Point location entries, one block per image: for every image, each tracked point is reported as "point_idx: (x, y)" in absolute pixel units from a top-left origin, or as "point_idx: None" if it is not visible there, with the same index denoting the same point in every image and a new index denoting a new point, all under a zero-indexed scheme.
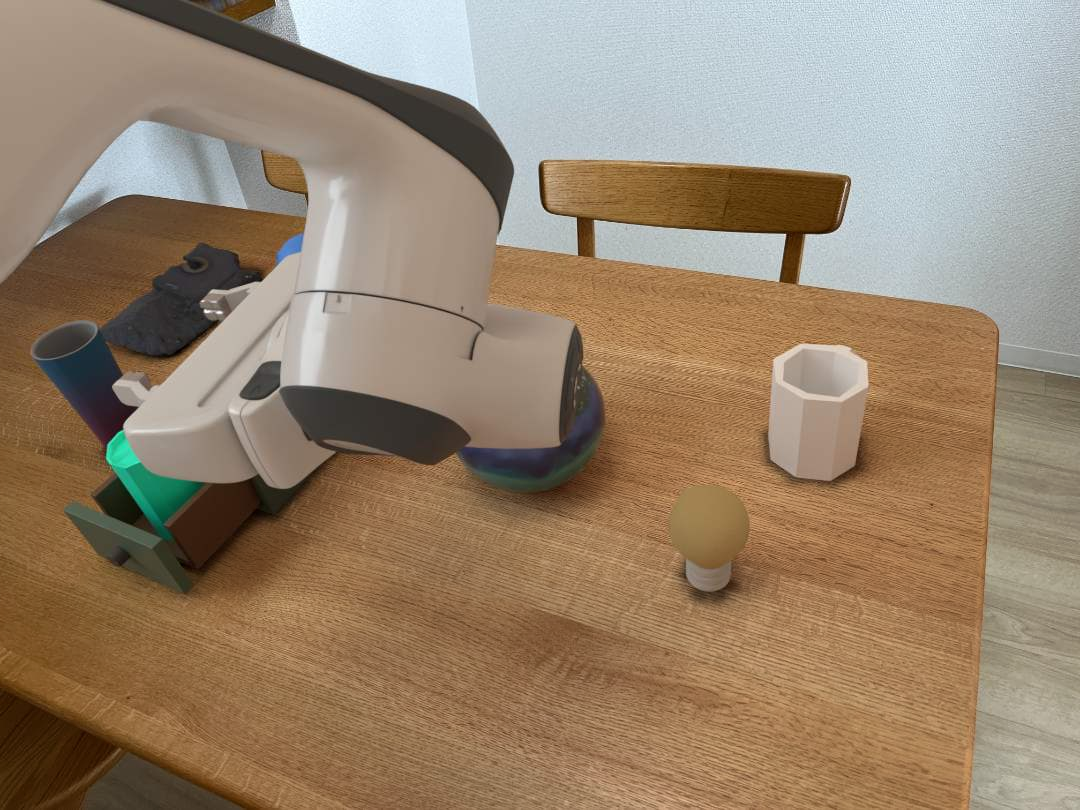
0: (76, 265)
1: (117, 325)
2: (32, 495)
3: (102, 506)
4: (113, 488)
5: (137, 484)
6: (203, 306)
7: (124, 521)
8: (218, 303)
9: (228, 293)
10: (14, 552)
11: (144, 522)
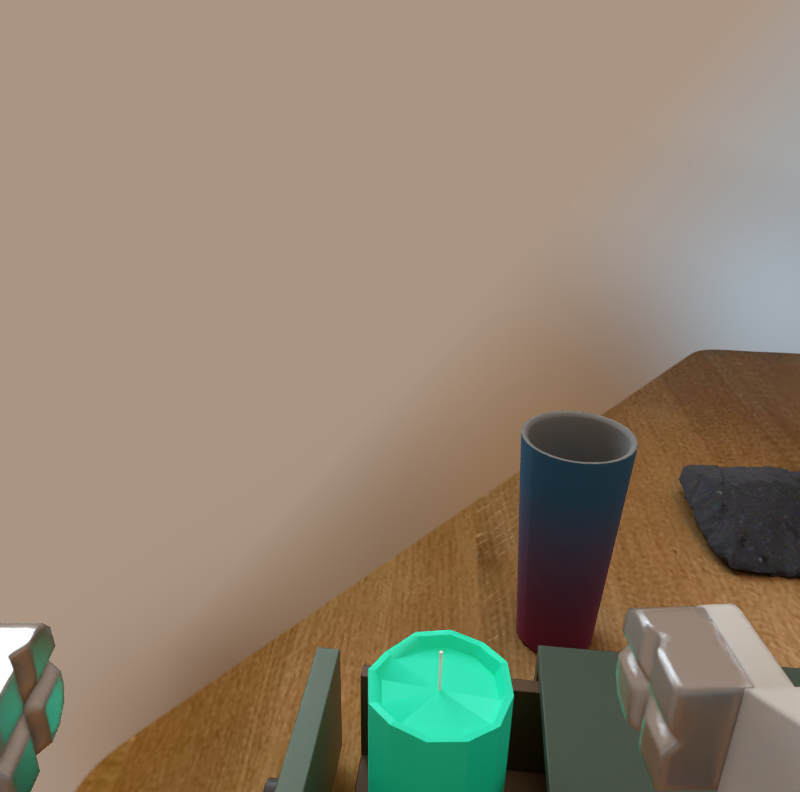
0: (758, 388)
1: (710, 477)
2: (408, 578)
3: (361, 697)
4: None
5: (370, 744)
6: (630, 636)
7: None
8: (677, 700)
9: (774, 702)
10: (310, 622)
11: None
